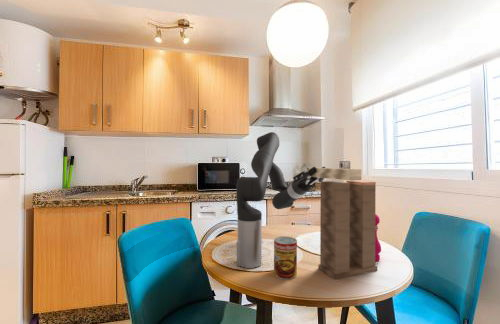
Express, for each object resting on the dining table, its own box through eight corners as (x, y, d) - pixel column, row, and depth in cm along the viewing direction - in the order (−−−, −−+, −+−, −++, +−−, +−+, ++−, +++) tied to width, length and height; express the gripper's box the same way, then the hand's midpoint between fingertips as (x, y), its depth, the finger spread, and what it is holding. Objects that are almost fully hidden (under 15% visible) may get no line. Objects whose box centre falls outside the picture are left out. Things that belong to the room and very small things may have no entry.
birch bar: (306, 176, 100) (306, 167, 100) (315, 176, 101) (315, 167, 101) (351, 180, 77) (351, 169, 77) (361, 180, 79) (361, 169, 79)
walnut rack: (318, 268, 91) (318, 181, 90) (358, 260, 98) (358, 180, 97) (335, 279, 82) (335, 183, 82) (377, 270, 89) (377, 181, 89)
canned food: (273, 278, 83) (273, 242, 83) (274, 268, 91) (274, 235, 91) (297, 280, 82) (297, 244, 82) (296, 269, 90) (296, 236, 89)
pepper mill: (383, 262, 96) (384, 211, 96) (363, 261, 97) (364, 210, 97) (378, 255, 103) (378, 207, 103) (359, 254, 104) (359, 207, 104)
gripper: (282, 179, 108) (302, 160, 94) (309, 179, 113) (332, 160, 99) (287, 195, 104) (307, 177, 91) (314, 194, 110) (338, 177, 96)
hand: (320, 168), depth 95 cm, fingers closed on birch bar, 4 cm apart
